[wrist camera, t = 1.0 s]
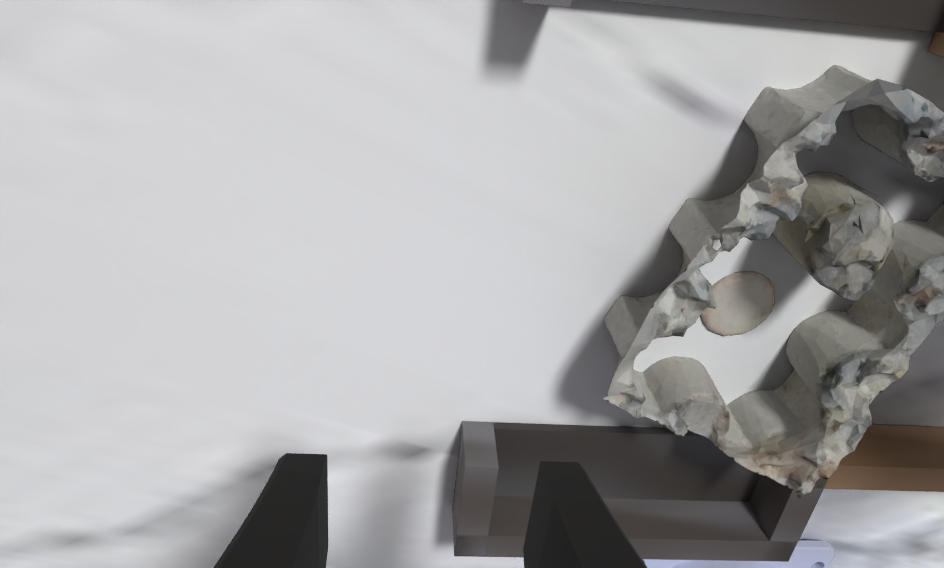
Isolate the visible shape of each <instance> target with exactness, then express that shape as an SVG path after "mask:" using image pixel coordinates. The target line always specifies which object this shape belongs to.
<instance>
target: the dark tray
mask: <svg viewBox="0 0 944 568" xmlns="http://www.w3.org/2000/svg"><path fill="white" fill-rule="evenodd" d="M521 1H522V2H523V3H529V4H540V5H551V6H561V7H571V1H572V0H521ZM608 1H618V2H629V3H639V4H649V5H660V6H670V7H681V8H691V9H701V10H712V11H722V12H733V13H743V14H753V15H764V16H774V17H785V18H795V19H805V20H816V21H826V22H837V23H847V24H857V25H868V26H878V27H889V28H899V29H909V30H920V31H930V32H935V34H934V37H933V39H932V42H931V44H930V47H929V49H928V51H927V52H930V53H933V54H936V55H939V56H942V57H944V0H608ZM540 461H557V462H579V463H580V464H581V465H582V466H583V468H584V469H585V471H586V472H587V474H588V476H589V478H590V479H591V481H592V483H593V484H594V486H595V488H596V489H597V491H598V493H599V494H600V496H601V498H602V499H603V501H604V503H605V504H606V506H607V507H608V509H609V511H610V512H611V514H612V515H613V517H614V518H615V520H616V522H617V523H618V525H619V526H620V528H621V529H622V531H623V532H624V534H625V536H626V537H627V539H628V540H629V542H630V543H631V545H632V546H633V548H634V549H635V551H636V552H637V553H638V555H639V556H640V558H641V559H659V560H720V561H780V562H789V559H790V557H791V555H792V553H793V551H794V549H795V547H796V545H797V543H798V541H799V539H800V537H801V535H802V533H803V530H804V528H805V526H806V524H807V522H808V520H809V518H810V516H811V514H812V512H813V510H814V508H815V506H816V504H817V502H818V499H819V497H820V495H821V493H822V491H823V489H824V488H825V489H861V490H898V491H935V492H944V427H925V426H898V425H871V426H870V427H868V428H867V430H866V431H865V433H864V435H863V437H862V438H861V440H860V441H859V442H858V444H857V446H856V448H855V451H853V452H851V453H849V454H847V455H846V456H845V457H843V458H842V459H841V461H840V463H839V465H838V468H837V470H835V471H834V472H833V473H832V475H831V476H830V477H829V478H828V479H822V478H819V479H818V480H817V481H816V482H815V485H814V487H813V489H812V491H811V492H810V493H806V494H805V495H804V496H803V497H802V498H798V497H797V496H796V495H795V494H794V493H795V492H796V491H797V489H791V488H788V487H786V486H784V485H782V484H780V483H778V482H776V481H774V480H773V479H771V478H769V477H767V476H766V475H765V476H763V475H761V474H758V473H756V472H753V471H751V470H749V469H747V468H745V467H744V466H742V465H740V464H739V463H737V462H736V461H734V460H733V459H732V458H730V457H729V456H728V455H726V454H725V453H724V452H723V451H721V450H720V449H719V448H718V447H717V446H715V445H714V443H713V442H712V441H711V440H710V439H708V438H707V437H705V436H702V435H699V434H697V433H694V432H691V431H689V430H687V433H686V434H685V435H684V436H679V435H676V434H675V433H673V432H672V431H671V430H669V429H664V428H636V427H607V426H579V425H551V424H522V423H494V422H466V421H462V430H461V439H460V447H459V456H458V464H457V473H456V482H455V490H454V499H453V508H452V510H453V535H454V556H478V557H524V554H523V547H524V542H525V537H526V532H527V527H528V522H529V517H530V512H531V506H532V501H533V496H534V491H535V486H536V481H537V476H538V471H539V466H540Z"/></svg>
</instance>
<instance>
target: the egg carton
mask: <svg viewBox="0 0 944 568" xmlns="http://www.w3.org/2000/svg"><path fill="white" fill-rule="evenodd" d="M849 110H853V123H854V129H855V131H856V132H857V134H858V135H859V137H860V138H861V139H862V140H863V141H865V142H867V143H868V144H870V145H872V146H873V147H875V148H876V149H878V150H879V151H881V152H883V153H885V154H886V155H888V156H890V157H892V158H893V159H895V160H897V161H898V162H900V163H901V164H902V165H904V166H905V167H906V168H908V169H909V170H910V171H911V172H913V173H914V174H915V175H917V176H919V177H921V178H923V179H925V180H927V181H928V182H933V181H935V180H938V179H941V178H944V112H943V111H941V110H940V109H938V108H937V107H936V106H935V105H934V104H933V103H932V102H931V101H929V100H927V99H926V98H924V97H922V96H920V95H919V94H917V93H915V92H913V91H912V90H909V89H906V88H904V87H902V86H900V85H897V84H894V83H890V82H887V81H884V80H880V79H876V80H874V81H870V80H867V79H865V78H863V77H861V76H859V75H857V74H855V73H852V72H850V71H848V70H847V69H845V68H843V67H841V66H837V65H833V66H832V67H831V68H830V69H829V70H828V71H826V72H825V73H824V74H823V75H822V76H820V77H819V78H817V79H816V80H815V81H813V82H811V83H809V84H807V85H805V86H803V87H801V88H796V89H789V90H784V89H776V88H772V87H766V88H765V89H763V91H762V92H761V93H760V95H759V96H758V97H757V99H756V100H755V102H754V103H753V105H752V106H751V108H750V109H749V111H748V112H747V114H746V115H745V117H744V121H745V122H746V124H747V125H748V127H749V128H750V129H751V130H752V132H753V133H754V135H755V138H756V141H757V144H758V159H757V163H756V166H755V168H754V170H753V172H752V174H751V175H750V177H749V178H748V179H747V180H746V182H745V183H744V184H743V185H742V186H741V187H740V188H739V189H737V190H736V191H735V192H733V193H732V194H730V195H728V196H725V197H722V198H719V199H714V200H698V199H692V198H689V199H687V200H686V202H685V203H684V204H683V205H682V207H681V208H680V210H679V211H678V213H677V214H676V216H675V217H674V218H673V220H672V221H671V223H670V225H669V230H670V231H671V233H672V234H673V235H674V237H675V238H676V240H677V241H678V243H679V244H680V245H681V247H682V249H683V255H684V260H683V264H682V267H681V270H680V272H679V274H678V275H677V277H676V279H675V280H674V281H673V282H672V283H671V284H670V285H668V286H667V287H666V288H665V289H663V290H661V291H660V292H658V293H655V294H653V295H650V296H645V297H636V298H634V297H629V296H624V295H621V296H620V297H619V298H618V299H617V301H616V302H615V303H614V305H613V306H612V307H611V309H610V310H609V312H608V313H607V315H606V317H605V325H606V327H607V329H608V330H609V332H610V334H611V336H612V338H613V341H614V343H615V345H616V347H617V350H618V352H619V358H618V368H617V370H616V372H615V374H614V376H613V379H612V382H611V385H610V388H609V391H608V394H607V396H606V397H605V398H603V399H604V400H606V401H607V402H609V403H612V404H614V405H616V406H618V407H619V408H621V409H623V410H625V411H626V412H628V413H630V414H631V415H633V416H634V417H636V418H641V417H643V416H644V417H647V418H649V419H652V420H654V421H656V422H658V423H660V424H662V425H664V426H665V427H667V428H668V429H669V430H671V431H672V432H673V433H675V434H676V435H679V436H684V435H685V434H686V433H687V430H689V431H691V432H694V433H697V434H699V435H702V436H705V437H707V438H708V439H710V440H711V441H712V442H713V443H714V445H715V446H717V447H718V448H719V449H720V450H721V451H723V452H724V453H725V454H726V455H728V456H729V457H730V458H732V459H733V460H734V461H736V462H737V463H739V464H740V465H742V466H744V467H745V468H747V469H749V470H751V471H753V472H756V473H758V474H761V475H763V476H765V475H766V476H767V477H769V478H771V479H773V480H774V481H776V482H778V483H780V484H782V485H784V486H786V487H788V488H791V489H797V491H796V492H795V493H794V494H795V495H796V496H797V497H798V498H802V497H803V496H804V495H805V494H806V493H810V492H811V491H812V489H813V487H814V485H815V482H816V481H817V480H818V479H819V478H822V479H828V478H829V477H830V476H831V475H832V473H833V472H834V471H835V470H837V468H838V465H839V463H840V461H841V459H842V458H843V457H845V456H846V455H847V454H849V453H851V452H853V451H855V448H856V446H857V444H858V442H859V441H860V440H861V438H862V437H863V435H864V433H865V431H866V430H867V428H868V427H870V426H871V425H872V418H871V413H870V410H869V405H870V404H871V402H872V401H873V399H874V398H875V397H876V396H877V395H878V394H879V393H881V392H882V391H883V390H884V389H886V388H887V387H888V386H889V385H890V384H891V383H893V382H895V381H897V380H899V379H900V378H901V377H902V376H903V375H904V374H905V373H906V372H907V371H908V369H909V361H910V356H911V355H912V354H913V353H914V352H915V350H916V349H917V348H918V347H919V346H920V345H921V344H922V343H923V341H924V340H925V339H926V338H927V337H928V335H929V334H930V332H931V331H932V330H933V328H934V327H935V326H936V325H937V324H938V323H939V322H941V321H942V320H943V319H944V203H943V204H942V205H941V207H940V208H939V209H938V210H937V211H936V212H935V213H934V214H933V215H932V216H931V217H930V218H929V219H928V220H927V221H919V220H905V221H900V222H897V223H894V224H893V219H892V217H891V216H890V214H889V213H888V211H887V210H886V209H885V208H884V207H883V206H882V205H880V204H879V203H878V202H876V201H875V200H874V199H872V198H871V197H869V196H868V195H867V194H865V193H864V192H863V191H861V190H860V189H858V188H857V187H856V186H857V185H856V186H854V185H855V184H854V183H852V182H850V181H848V180H847V179H845V178H843V177H842V176H840V175H836V174H834V173H829V172H816V173H811V174H808V175H805V176H803V175H802V173H801V172H800V170H799V169H798V167H797V161H796V154H797V153H798V152H800V151H802V150H808V151H812V152H815V151H816V150H817V148H818V147H819V146H828V145H829V143H830V142H831V141H832V139H833V138H834V136H835V135H836V133H837V132H836V126H835V121H836V119H837V118H838V116H839V114H840V112H845V111H849ZM851 183H852V184H851ZM853 184H854V185H853ZM858 187H859V186H858ZM859 188H861V187H859ZM861 189H862V188H861ZM863 190H864V189H863ZM865 191H866V190H865ZM867 192H868V191H867ZM869 193H870V192H869ZM874 196H875V195H874ZM876 197H877V196H876ZM772 232H773V235H774V236H775V237H776V239H777V240H778V241H779V242H780V243H781V244H782V245H783V246H784V247H785V248H786V249H787V250H788V251H789V252H790V253H791V255H792V256H793V257H794V258H795V259H796V260H797V261H798V262H799V263H800V264H801V265H802V266H803V267H804V268H805V269H806V270H807V271H808V272H809V273H810V275H811V276H812V277H813V278H814V279H815V280H816V281H817V282H818V283H819V284H820V285H822V286H824V287H826V288H828V289H830V290H832V291H834V292H835V293H837V294H839V295H840V296H841V297H843V298H846V299H850V300H855V301H854V302H853V304H852V305H851V307H850V308H849V309H848V310H847V311H846V312H842V311H825V312H822V313H818V314H816V315H814V316H811V317H809V318H807V319H805V320H804V321H802V322H801V323H800V324H799V325H798V326H797V327H796V328H795V329H794V330H793V332H792V333H791V335H790V337H789V339H788V342H787V344H786V354H787V357H788V359H789V362H790V364H791V365H792V366H793V368H794V370H793V372H792V373H791V374H790V375H789V377H788V378H787V379H786V380H785V381H784V382H783V383H782V384H781V385H780V386H779V387H778V388H776V389H774V390H757V391H752V392H749V393H746V394H744V395H742V396H740V397H739V398H737V399H735V400H734V401H732V402H731V403H729V404H728V405H726V404H725V402H724V400H723V398H722V397H721V395H720V394H719V392H718V390H717V388H716V387H715V385H714V383H713V381H712V379H711V377H710V375H709V374H708V372H707V370H706V368H705V367H704V365H702V364H701V363H700V362H699V361H697V360H695V359H692V358H688V357H676V356H674V357H669V358H665V359H663V360H660V361H658V362H656V363H655V364H653V365H651V366H650V367H649V368H647V369H646V370H645V371H644V372H638V371H635V370H633V363H634V359H635V357H636V356H637V355H638V353H639V352H641V351H642V350H644V349H646V348H647V347H648V345H649V344H650V342H651V341H652V340H653V339H656V338H661V337H669V336H682V337H683V336H684V334H685V332H686V329H688V328H689V327H690V326H692V325H693V324H694V323H695V322H696V320H697V319H698V318H699V316H700V315H701V318H702V321H703V324H704V325H705V326H706V328H707V329H709V330H710V331H712V332H714V333H716V334H719V335H722V336H727V335H731V336H732V335H738V334H743V333H746V332H748V331H750V330H752V329H754V328H755V327H756V326H758V325H759V324H760V323H761V322H763V321H764V320H765V319H766V318H767V316H768V315H769V314H770V313H771V308H772V307H773V306H774V299H775V292H774V288H773V286H772V284H771V282H770V281H769V279H767V278H766V277H765V276H764V275H762V274H759V273H755V272H737V273H734V274H731V275H729V276H726V277H724V278H722V279H721V280H719V281H718V282H716V283H715V284H714V285H711V284H710V283H709V282H708V280H707V279H706V278H705V277H704V276H703V274H702V273H701V271H700V270H699V267H701V266H702V265H704V264H706V263H709V262H711V261H713V260H714V258H715V257H716V255H717V254H718V252H720V251H728V252H730V251H731V250H732V249H733V248H734V247H735V246H736V245H737V244H738V242H739V239H740V238H742V237H746V238H748V239H750V240H761V239H769V237H770V236H771V234H772ZM718 239H720V242H721V245H722V246H721V247H720V248H719V250H718V251H717V250H715V249H713V248H712V245H713V240H718Z"/></svg>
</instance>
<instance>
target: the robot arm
mask: <svg viewBox="0 0 944 568" xmlns="http://www.w3.org/2000/svg"><path fill="white" fill-rule="evenodd" d="M327 552H328V486H327V455H325V454H292V453H286V454H285V455H284V456H282V457H281V458H280V459H279V460H278V462H277V464H276V466H275V469H274V471H273V473H272V474H271V476H270V478H269V480H268V482H267V484H266V486H265V487H264V489H263V491H262V493H261V494H260V496H259V498H258V500H257V501H256V503H255V505H254V506H253V508H252V510H251V511H250V513H249V514H248V516H247V518H246V519H245V521H244V523H243V524H242V526H241V527H240V529H239V531H238V532H237V534H236V535H235V537H234V538H233V539H232V541H231V542H230V544H229V545H228V547H227V548H226V550H225V551H224V553H223V554H222V556H221V557H220V559H219V560H218V562H217V563H216V565H215V566H214V568H326V560H327ZM523 554H524V567H525V568H828V567H829V565H830V563H831V562H832V560H833V558H834V555H835V552H834V550H833V548H832V547H831V545H830V544H829V543H828V542H826V541H811V540H799V541H798V543H797V545H796V547H795V549H794V551H793V553H792V555H791V557H790V559H789V562H780V561H720V560H659V559H641V558H640V556H639V555H638V553H637V552H636V551H635V549H634V548H633V546H632V545H631V543H630V542H629V540H628V539H627V537H626V536H625V534H624V532H623V531H622V529H621V528H620V526H619V525H618V523H617V522H616V520H615V518H614V517H613V515H612V514H611V512H610V511H609V509H608V507H607V506H606V504H605V503H604V501H603V499H602V498H601V496H600V494H599V493H598V491H597V489H596V488H595V486H594V484H593V483H592V481H591V479H590V478H589V476H588V474H587V472H586V471H585V469H584V468H583V466H582V465H581V464H580V463H579V462H557V461H540V466H539V471H538V476H537V481H536V486H535V491H534V496H533V501H532V506H531V512H530V517H529V522H528V527H527V532H526V537H525V542H524V547H523Z"/></svg>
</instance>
